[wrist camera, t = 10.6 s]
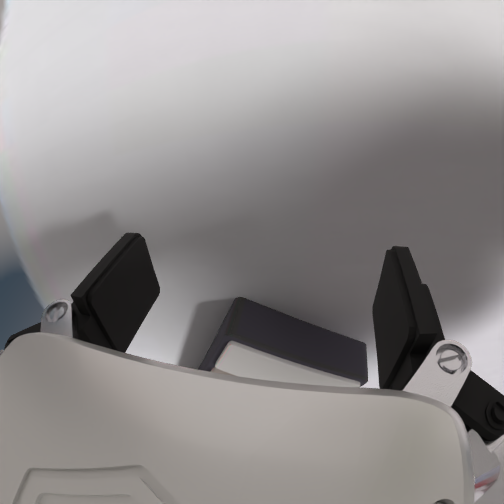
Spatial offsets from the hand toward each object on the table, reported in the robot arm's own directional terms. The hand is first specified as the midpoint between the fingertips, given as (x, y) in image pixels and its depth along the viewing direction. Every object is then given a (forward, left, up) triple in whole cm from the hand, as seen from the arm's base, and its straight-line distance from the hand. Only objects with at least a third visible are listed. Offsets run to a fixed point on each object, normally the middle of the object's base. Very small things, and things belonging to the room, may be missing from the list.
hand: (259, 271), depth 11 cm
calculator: (+16, -1, -7) cm, 17 cm away
